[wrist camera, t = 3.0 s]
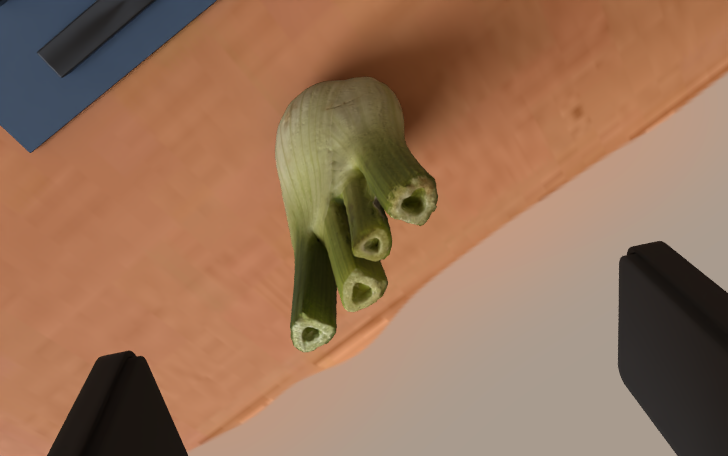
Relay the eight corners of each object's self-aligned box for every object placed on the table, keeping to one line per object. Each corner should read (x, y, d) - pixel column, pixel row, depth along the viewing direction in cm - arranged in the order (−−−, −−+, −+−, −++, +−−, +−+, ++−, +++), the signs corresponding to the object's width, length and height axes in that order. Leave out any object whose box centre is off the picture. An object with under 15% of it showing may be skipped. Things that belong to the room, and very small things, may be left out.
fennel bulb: (305, 206, 26) (310, 385, 16) (245, 114, 24) (202, 246, 13) (418, 145, 26) (506, 288, 15) (367, 44, 24) (424, 125, 13)
